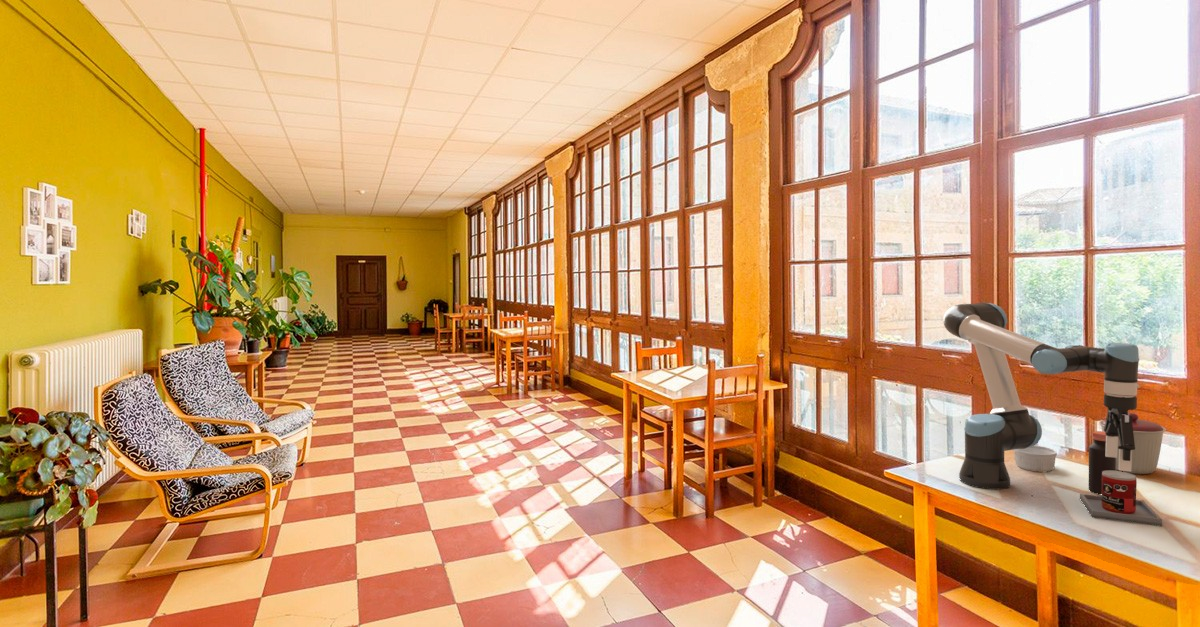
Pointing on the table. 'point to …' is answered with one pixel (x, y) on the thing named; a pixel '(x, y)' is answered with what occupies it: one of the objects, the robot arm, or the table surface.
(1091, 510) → the tray
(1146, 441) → the canister
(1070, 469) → the table surface
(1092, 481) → the bottle
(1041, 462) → the ramekin
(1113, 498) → the canned food
